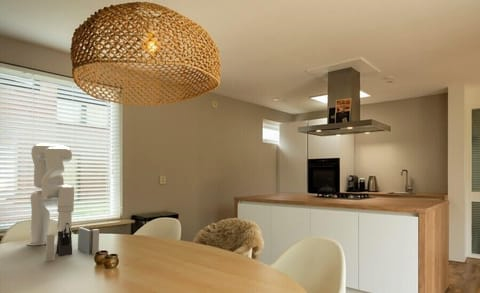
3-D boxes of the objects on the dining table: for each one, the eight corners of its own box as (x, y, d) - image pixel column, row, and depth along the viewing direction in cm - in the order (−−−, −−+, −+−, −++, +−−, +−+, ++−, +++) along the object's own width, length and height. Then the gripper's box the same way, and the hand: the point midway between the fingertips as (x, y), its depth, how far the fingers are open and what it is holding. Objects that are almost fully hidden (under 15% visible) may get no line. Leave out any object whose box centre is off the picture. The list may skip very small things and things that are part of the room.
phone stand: (55, 253, 175) (56, 230, 176) (68, 251, 179) (69, 228, 180) (59, 256, 168) (60, 232, 169) (72, 254, 172) (73, 231, 173)
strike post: (45, 260, 161) (46, 234, 162) (52, 259, 163) (53, 233, 164) (46, 261, 159) (47, 235, 159) (53, 260, 160) (54, 234, 161)
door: (92, 254, 173) (92, 229, 174) (89, 254, 172) (90, 230, 173) (80, 248, 185) (81, 226, 186) (77, 249, 184) (78, 226, 185)
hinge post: (90, 253, 174) (91, 229, 175) (96, 252, 176) (97, 228, 177) (92, 254, 172) (93, 230, 173) (98, 253, 174) (99, 229, 175)
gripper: (54, 208, 179) (52, 242, 178) (61, 211, 166) (59, 248, 165) (69, 207, 184) (68, 240, 183) (77, 210, 171) (76, 246, 170)
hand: (64, 243), depth 174 cm, fingers open, 4 cm apart
